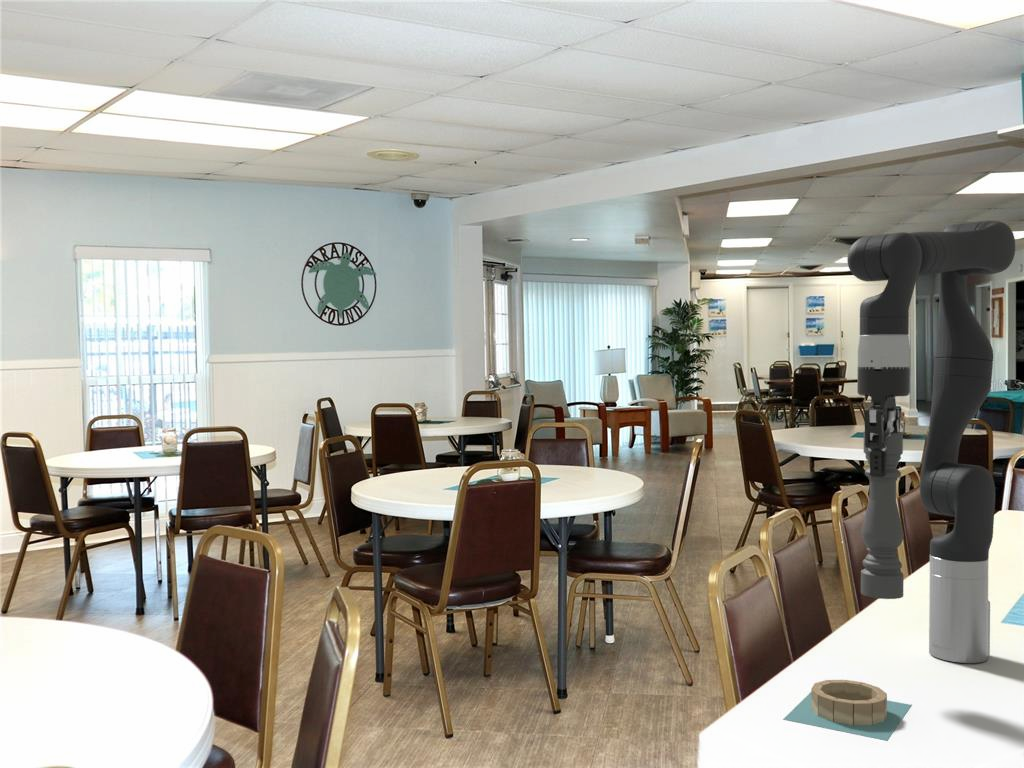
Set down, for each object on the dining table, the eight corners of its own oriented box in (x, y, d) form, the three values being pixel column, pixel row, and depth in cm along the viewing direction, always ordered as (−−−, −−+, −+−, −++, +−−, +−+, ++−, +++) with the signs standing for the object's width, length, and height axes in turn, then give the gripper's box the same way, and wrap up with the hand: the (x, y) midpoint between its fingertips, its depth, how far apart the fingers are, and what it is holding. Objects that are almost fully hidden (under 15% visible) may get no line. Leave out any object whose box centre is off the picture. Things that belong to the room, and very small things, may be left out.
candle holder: (877, 600, 145) (878, 434, 144) (852, 590, 151) (853, 431, 150) (912, 597, 146) (913, 433, 146) (886, 588, 152) (887, 430, 152)
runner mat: (815, 689, 149) (815, 687, 149) (911, 707, 141) (911, 704, 141) (783, 722, 136) (783, 719, 136) (887, 743, 128) (887, 740, 128)
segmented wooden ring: (842, 695, 145) (842, 675, 145) (900, 715, 137) (901, 694, 137) (797, 708, 140) (797, 687, 140) (855, 730, 132) (855, 708, 132)
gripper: (869, 364, 156) (868, 469, 156) (846, 365, 144) (845, 477, 144) (919, 364, 151) (918, 471, 152) (899, 365, 139) (898, 481, 140)
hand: (882, 474), depth 148 cm, fingers closed on candle holder, 5 cm apart
